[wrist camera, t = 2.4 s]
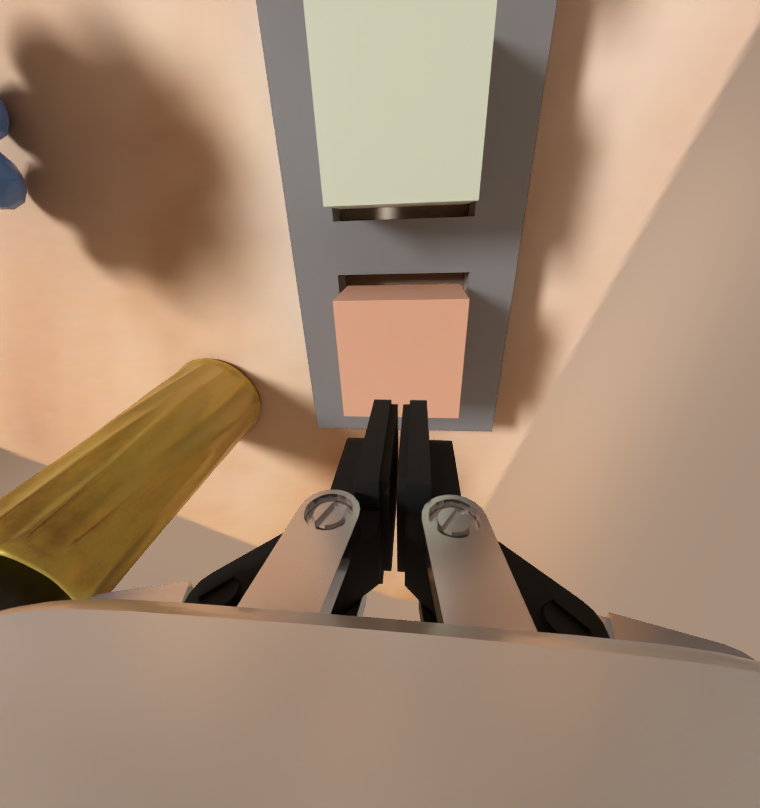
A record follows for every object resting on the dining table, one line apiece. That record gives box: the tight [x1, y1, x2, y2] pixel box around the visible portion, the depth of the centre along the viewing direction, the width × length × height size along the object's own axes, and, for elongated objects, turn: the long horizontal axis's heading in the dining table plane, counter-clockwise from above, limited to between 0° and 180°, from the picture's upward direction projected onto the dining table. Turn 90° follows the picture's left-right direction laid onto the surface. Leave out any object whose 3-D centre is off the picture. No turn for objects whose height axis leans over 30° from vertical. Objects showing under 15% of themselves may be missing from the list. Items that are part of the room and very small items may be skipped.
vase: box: [0, 359, 260, 611], centre depth 18 cm, size 6×6×14 cm
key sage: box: [303, 0, 497, 209], centre depth 12 cm, size 6×6×4 cm
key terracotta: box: [333, 284, 469, 418], centre depth 17 cm, size 6×6×4 cm
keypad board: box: [256, 0, 557, 431], centre depth 15 cm, size 30×11×2 cm, turn 2°
